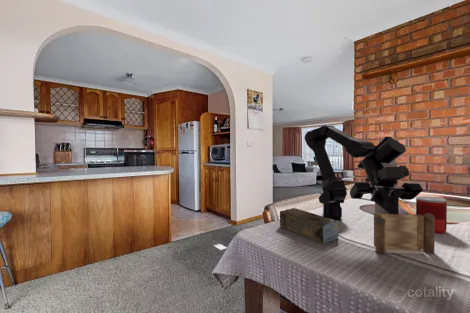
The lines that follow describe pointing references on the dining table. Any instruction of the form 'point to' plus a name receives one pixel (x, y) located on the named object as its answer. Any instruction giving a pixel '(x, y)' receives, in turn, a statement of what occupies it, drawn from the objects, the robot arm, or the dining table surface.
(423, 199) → the canned food
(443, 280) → the dining table surface
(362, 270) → the dining table surface
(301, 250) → the dining table surface
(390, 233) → the gate
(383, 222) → the post
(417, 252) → the threshold
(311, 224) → the beverage carton
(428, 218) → the hinge post
